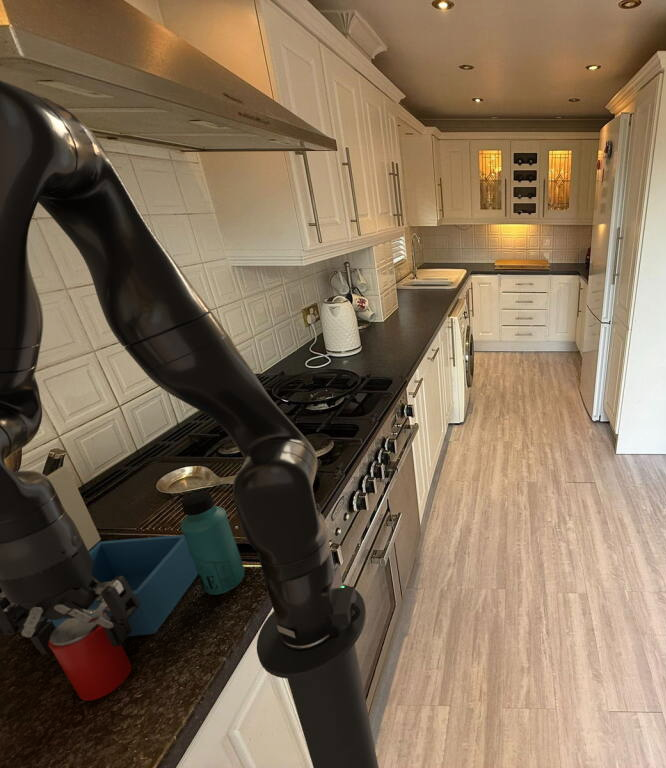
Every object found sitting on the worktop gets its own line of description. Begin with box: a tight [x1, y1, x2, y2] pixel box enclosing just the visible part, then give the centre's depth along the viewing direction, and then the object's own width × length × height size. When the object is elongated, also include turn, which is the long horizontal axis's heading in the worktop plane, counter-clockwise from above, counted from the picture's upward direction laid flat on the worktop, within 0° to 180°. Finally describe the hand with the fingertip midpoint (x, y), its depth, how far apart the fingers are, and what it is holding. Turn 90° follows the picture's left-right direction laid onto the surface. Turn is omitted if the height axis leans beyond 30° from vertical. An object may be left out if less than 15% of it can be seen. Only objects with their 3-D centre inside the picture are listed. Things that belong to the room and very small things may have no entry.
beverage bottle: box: [180, 490, 246, 596], centre depth 70 cm, size 6×7×20 cm
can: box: [49, 610, 132, 702], centre depth 57 cm, size 6×6×11 cm
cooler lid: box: [45, 465, 102, 552], centre depth 63 cm, size 15×13×6 cm
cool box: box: [47, 534, 199, 637], centre depth 69 cm, size 14×13×9 cm
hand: (88, 644), depth 56 cm, fingers open, 8 cm apart
